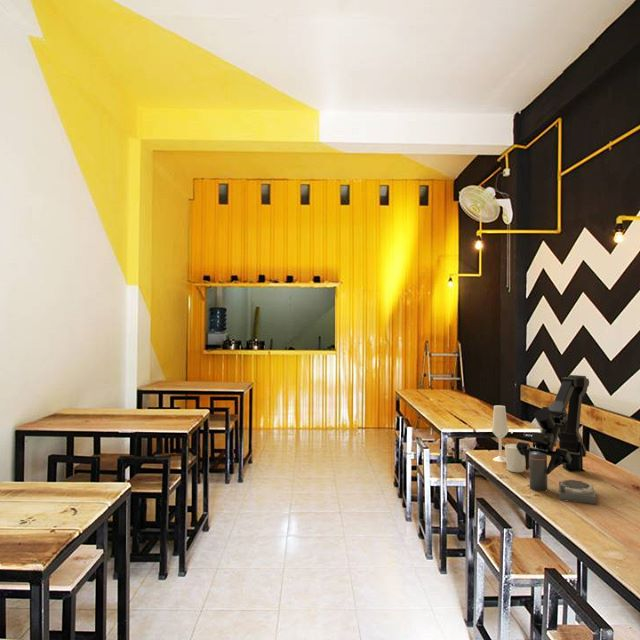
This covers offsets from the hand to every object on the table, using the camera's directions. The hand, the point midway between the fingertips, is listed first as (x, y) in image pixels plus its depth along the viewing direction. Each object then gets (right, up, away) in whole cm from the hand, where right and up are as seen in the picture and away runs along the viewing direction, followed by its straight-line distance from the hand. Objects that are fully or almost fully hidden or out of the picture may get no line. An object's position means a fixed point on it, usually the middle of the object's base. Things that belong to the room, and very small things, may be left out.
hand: (536, 471), depth 182 cm
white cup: (+2, -7, +24) cm, 25 cm away
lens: (+1, -7, +1) cm, 7 cm away
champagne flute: (+1, -7, +39) cm, 40 cm away
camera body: (+11, -6, -7) cm, 15 cm away
